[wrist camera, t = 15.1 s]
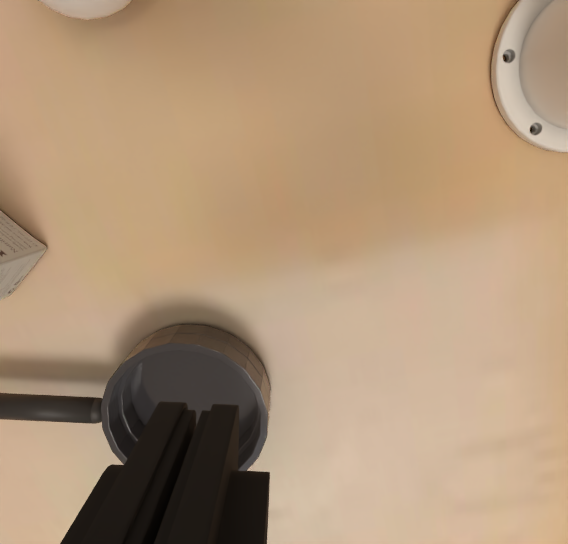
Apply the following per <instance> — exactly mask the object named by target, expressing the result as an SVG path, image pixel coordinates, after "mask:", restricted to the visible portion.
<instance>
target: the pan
mask: <svg viewBox="0 0 568 544" xmlns="http://www.w3.org/2000/svg"><path fill="white" fill-rule="evenodd" d="M161 401H165V402H186V403H187V406H188V410H195V411H196V426H197V423H198V420H199V418H200V415H201V412H202V411H203V410H208V411H210V410H211V407H212V405H213V404H229V405H239V453H238V471H247V469H248V468H249V467H250V466H251V465H252V464H253V463H254V462H255V461H256V460H257V458H258V457H259V455H260V453H261V450H262V448H263V445H264V443H265V440H266V438H267V433H268V422H269V411H270V385H269V382H268V379H267V376H266V373H265V369H264V367H263V365H262V364H261V363H260V361H259V360H258V358H257V357H256V356H255V354H254V353H253V352H252V350H251V349H250V348H249V347H248V346H246V345H245V344H244V343H242V342H241V341H240V340H238V339H237V338H236V337H234V336H233V335H231V334H230V333H227V332H224V331H221V330H219V329H216V328H213V327H210V326H206V325H189V324H181V325H177V326H173V327H169V328H165V329H162V330H159V331H157V332H155V333H154V334H152V335H151V336H149V337H147V338H146V339H144V340H143V341H141V342H140V343H139V344H138V345H137V346H136V347H135V348H134V350H133V351H132V352H131V353H130V354H129V356H128V357H127V358H126V359H125V360H124V362H123V363H122V364H121V365H120V367H119V368H118V369H117V371H116V372H115V373H114V374H113V376H112V377H111V378H110V380H109V381H108V383H107V386H106V389H105V392H104V396H103V399H102V402H101V416H102V428H103V431H104V434H105V436H106V438H107V440H108V443H109V445H110V447H111V450H112V452H113V453H114V454H115V455H116V456H117V457H118V458H119V460H120V461H121V462H122V463H123V464H125V462H126V461H127V459H128V457H129V455H130V453H131V452H132V450H133V448H134V446H135V444H136V443H137V441H138V439H139V437H140V435H141V433H142V432H143V430H144V428H145V426H146V424H147V423H148V421H149V419H150V417H151V415H152V414H153V412H154V410H155V408H156V406H157V405H158V403H159V402H161Z"/></svg>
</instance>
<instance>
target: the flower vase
mask: <svg viewBox="0 0 568 544" xmlns="http://www.w3.org/2000/svg"><path fill="white" fill-rule="evenodd" d="M38 1H40V2H41V3H42V4H44V5H45V6H47V7H48V8H49V9H51V10H53V11H55V12H58V13H60V14H62V15H65V16H67V17H70V18H76V19H85V20H93V19H99V18H104V17H109V16H111V15H112V14H114V13H116V12H118V11H120V10H122V9H124V8H125V7H126V6H127V5H128V4H129V3H130V2H131V1H132V0H38Z"/></svg>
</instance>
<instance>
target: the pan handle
mask: <svg viewBox="0 0 568 544" xmlns="http://www.w3.org/2000/svg"><path fill="white" fill-rule="evenodd" d="M101 402H102V398H94V397H72V396H51V395H29V394H8V393H0V419H9V420H30V421H52V422H73V423H100V422H102V416H101Z"/></svg>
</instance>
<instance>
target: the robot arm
mask: <svg viewBox="0 0 568 544" xmlns="http://www.w3.org/2000/svg"><path fill="white" fill-rule="evenodd" d="M503 55H504V56H505V57H506V61H505V62H504V60H503ZM491 83H492V88H493V94H494V99H495V101H496V104H497V106H498V109H499V112H500V114H501V115H502V117H503V118H504V120H505V121H506V123H507V124H508V126H509V127H510V128H511V129H512V130H513V131H514V132H515V133H516V134H517V135H518V136H519V137H520V138H522V139H524V140H525V141H527V142H528V143H530V144H532V145H534V146H536V147H539V148H542V149H545V150H548V151H555V152H562V153H564V152H568V0H519V1H518V2H517V3H516V5H515V6H514V7H513V8H512V10H511V11H510V13H509V15H508V16H507V18H506V20H505V22H504V23H503V25H502V27H501V30H500V32H499V35H498V38H497V40H496V43H495V46H494V52H493V57H492V62H491ZM530 127H532V132H531V133H530ZM238 453H239V405H229V404H213V405H212V407H211V410H210V411H208V410H203V411H202V412H201V415H200V418H199V420H198V423H197V426H196V411H195V410H188V406H187V403H186V402H165V401H161V402H159V403H158V405H157V406H156V408H155V410H154V412H153V414H152V415H151V417H150V419H149V421H148V423H147V424H146V426H145V428H144V430H143V432H142V433H141V435H140V437H139V439H138V441H137V443H136V444H135V446H134V448H133V450H132V452H131V453H130V455H129V457H128V459H127V461H126V462H125V464H124V465H110V466H108V467H107V468H106V470H105V471H104V472H103V474H102V476H101V477H100V479H99V481H98V482H97V484H96V486H95V487H94V489H93V491H92V492H91V494H90V496H89V497H88V499H87V500H86V502H85V504H84V505H83V507H82V509H81V510H80V512H79V514H78V515H77V517H76V519H75V520H74V522H73V524H72V525H71V527H70V529H69V530H68V532H67V534H66V535H65V537H64V538H63V540H62V542H61V543H60V544H267V527H268V507H269V480H270V472H256V471H238Z"/></svg>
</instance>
